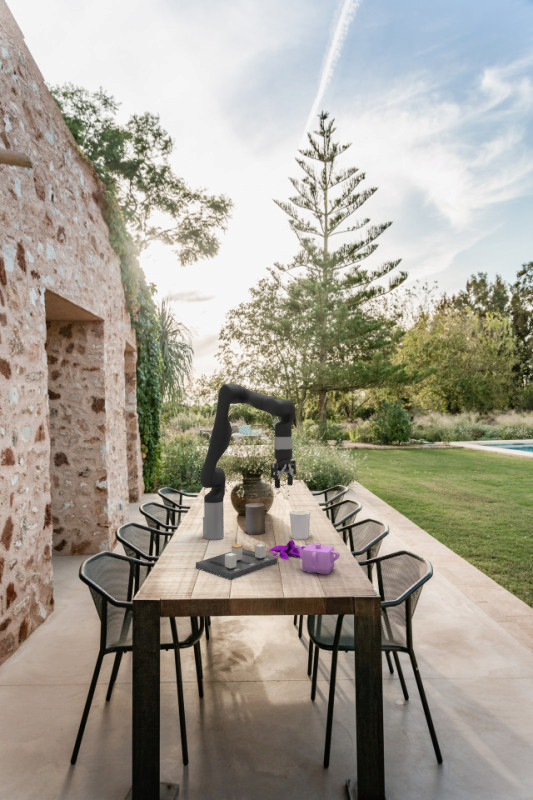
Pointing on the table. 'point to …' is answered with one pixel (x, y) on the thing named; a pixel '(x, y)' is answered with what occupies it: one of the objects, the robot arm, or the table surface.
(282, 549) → the cloth
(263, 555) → the block
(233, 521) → the table surface
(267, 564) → the panel
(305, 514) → the candle holder
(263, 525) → the pillar candle
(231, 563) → the breaker
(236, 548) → the block
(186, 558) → the table surface
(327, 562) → the teapot
